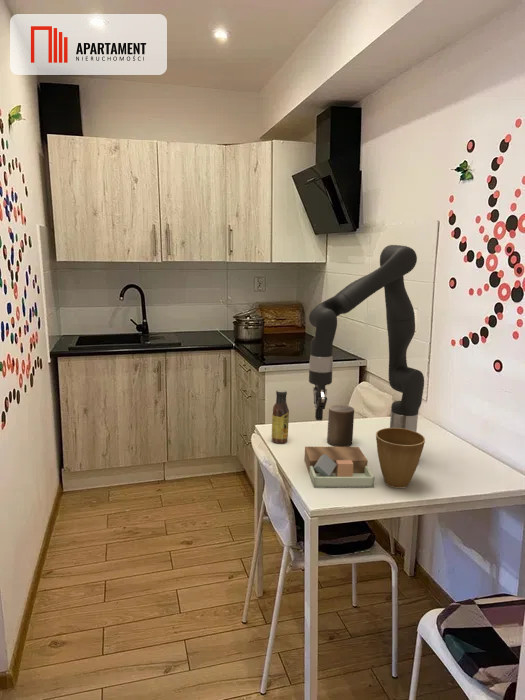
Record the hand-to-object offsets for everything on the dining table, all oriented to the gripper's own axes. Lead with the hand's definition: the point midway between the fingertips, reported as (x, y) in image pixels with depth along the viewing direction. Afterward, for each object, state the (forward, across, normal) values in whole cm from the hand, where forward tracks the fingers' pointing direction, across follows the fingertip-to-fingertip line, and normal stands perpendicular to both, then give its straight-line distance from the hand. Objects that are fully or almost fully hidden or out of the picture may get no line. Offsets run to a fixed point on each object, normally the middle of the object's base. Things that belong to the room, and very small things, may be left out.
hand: (318, 419), depth 170 cm
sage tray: (+17, -10, -6) cm, 21 cm away
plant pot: (+18, -12, -24) cm, 32 cm away
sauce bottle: (+17, +24, +10) cm, 32 cm away
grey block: (+14, -7, 0) cm, 15 cm away
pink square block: (+14, -6, -7) cm, 17 cm away
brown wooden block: (+17, 0, -6) cm, 18 cm away
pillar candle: (+18, +23, -13) cm, 32 cm away
